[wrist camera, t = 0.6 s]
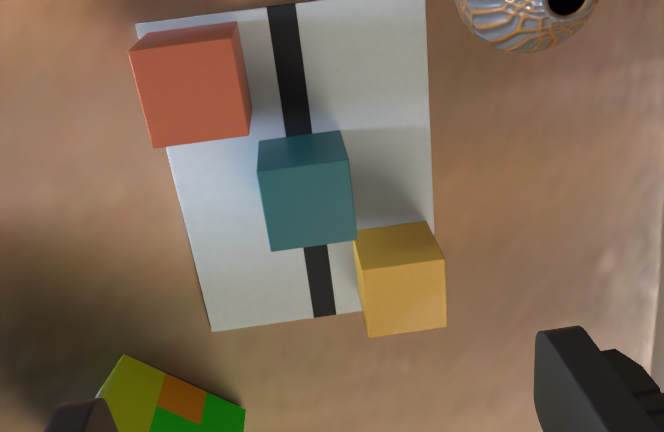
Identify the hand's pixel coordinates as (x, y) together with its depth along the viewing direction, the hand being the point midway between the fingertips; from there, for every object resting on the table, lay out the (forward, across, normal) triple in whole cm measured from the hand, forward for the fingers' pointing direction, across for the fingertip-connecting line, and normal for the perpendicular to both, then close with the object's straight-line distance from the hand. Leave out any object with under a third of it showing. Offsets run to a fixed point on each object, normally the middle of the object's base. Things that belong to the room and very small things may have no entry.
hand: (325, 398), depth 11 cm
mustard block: (+27, -5, +14) cm, 30 cm away
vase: (+27, -12, -4) cm, 30 cm away
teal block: (+27, 0, +6) cm, 27 cm away
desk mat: (+27, 0, +7) cm, 28 cm away
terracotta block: (+27, +5, -1) cm, 27 cm away
